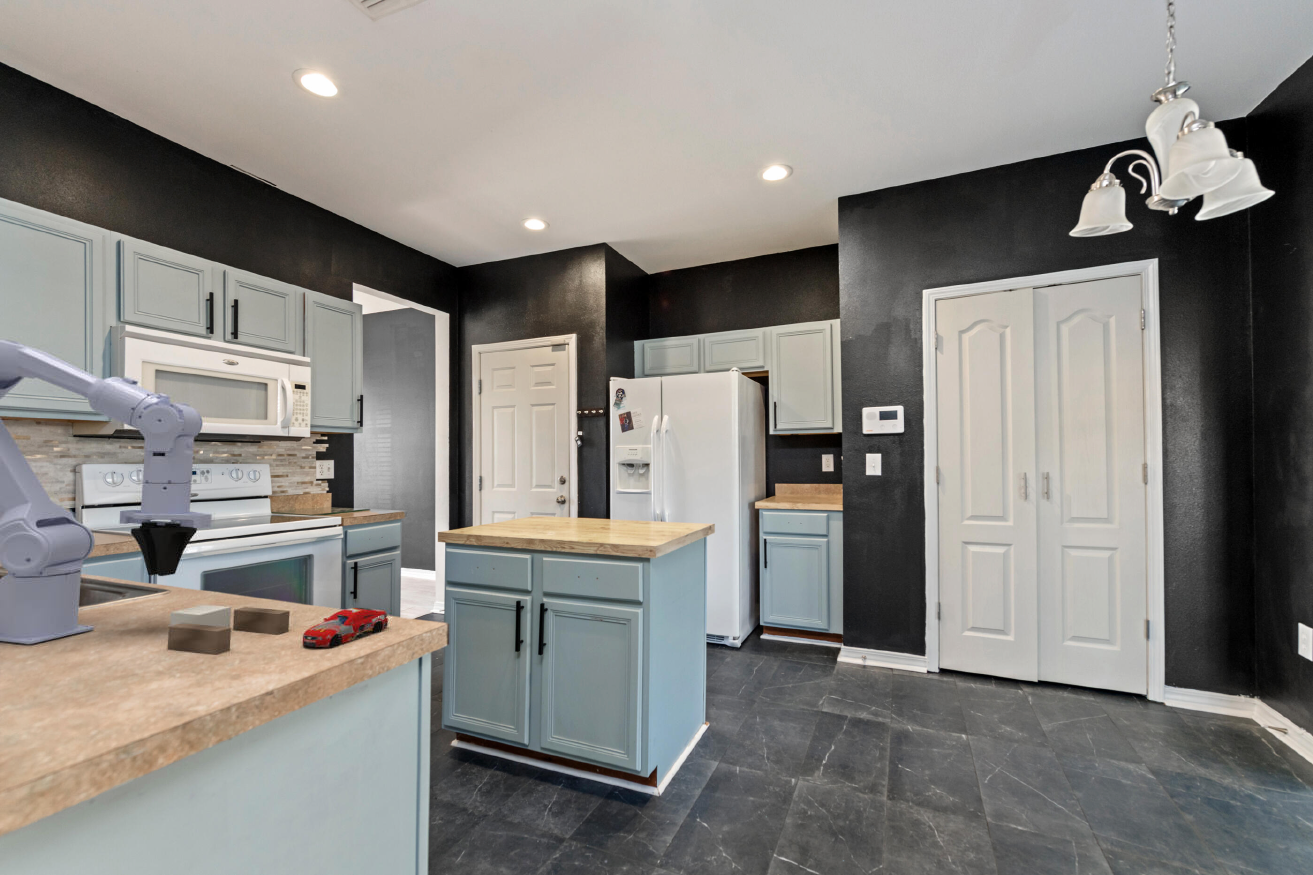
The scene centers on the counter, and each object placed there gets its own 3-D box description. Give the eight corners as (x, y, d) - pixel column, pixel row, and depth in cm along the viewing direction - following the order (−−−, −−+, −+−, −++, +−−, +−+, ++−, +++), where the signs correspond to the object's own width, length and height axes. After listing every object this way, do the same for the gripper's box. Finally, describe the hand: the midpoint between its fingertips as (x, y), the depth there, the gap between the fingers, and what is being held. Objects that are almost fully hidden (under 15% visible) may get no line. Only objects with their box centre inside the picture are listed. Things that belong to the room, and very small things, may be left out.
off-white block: (168, 640, 87) (170, 612, 87) (201, 631, 92) (203, 604, 92) (197, 643, 86) (199, 614, 86) (229, 634, 90) (231, 607, 91)
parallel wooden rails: (167, 648, 82) (168, 626, 83) (244, 626, 94) (245, 606, 94) (216, 654, 81) (217, 631, 81) (288, 630, 92) (289, 610, 93)
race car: (321, 654, 83) (322, 624, 83) (292, 648, 85) (293, 619, 85) (394, 629, 96) (395, 604, 96) (367, 625, 97) (368, 600, 98)
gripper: (99, 481, 89) (93, 575, 88) (181, 485, 86) (175, 582, 85) (149, 480, 96) (143, 568, 95) (226, 483, 93) (220, 573, 92)
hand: (161, 574), depth 91 cm, fingers closed
